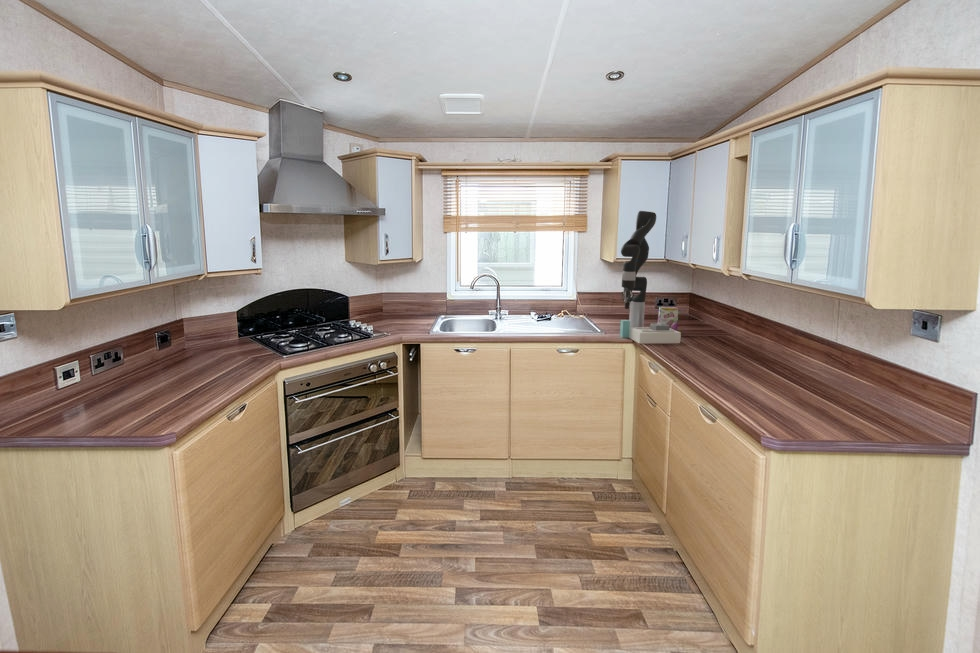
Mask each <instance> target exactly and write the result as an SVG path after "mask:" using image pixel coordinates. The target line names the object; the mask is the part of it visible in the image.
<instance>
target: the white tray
mask: <svg viewBox="0 0 980 653" xmlns="http://www.w3.org/2000/svg"><path fill="white" fill-rule="evenodd" d="M681 337H682V332H680V331H678V330H677V331H675V330H674V329H671V328H670V329H669V330H653V329H650V326H643V327H635V328H630V327H629V338H628V339H631V340H632V341H633V342H635V343H638V344H640V345H641V344H680V343H681Z"/></svg>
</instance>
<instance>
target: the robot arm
mask: <svg viewBox="0 0 980 653" xmlns="http://www.w3.org/2000/svg"><path fill="white" fill-rule="evenodd" d="M656 222H657V213H655V212H654V211H646V210H639V211H638V212H637V215H636V221H635V231H634V232H633V233H632V234H631V236H630V238H629V239H628V240H627V241H626V242H625V243H624V244H623V245H622V246H621V249H620V254H621V255H622V256H623V257H625V258H631V259H630V260H626V261H624V262H623V264H622V268H623V269H622V276H621V277H622V278H621V287H622V288H623V291H621V296H622V300H623V301H624V309H625V310H629V315H628V316H629V318H628V320H629V321H630V327H629V328H635V327H644V324H645V309H646V294H647V286H648V279H647V277H646V276H637V274H638V273H639V271H640V269H641V268H642V266H643V265H644V264H645V263H646V261H648V258H649V251H650V245H649V243H648V242H647V239H646V236H647V235H648V234H649V232H651V230H652V229H653V227H655V224H656ZM633 292H639V293H637V294H636V295H634V294H633Z"/></svg>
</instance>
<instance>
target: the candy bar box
mask: <svg viewBox="0 0 980 653" xmlns="http://www.w3.org/2000/svg"><path fill="white" fill-rule="evenodd" d="M679 311H680V308H679V307H677V306H659V307H658V316H657V322H659V323H664V324H667V325H669V326H670V328H671V329H674V330H675V331H678V323H679Z"/></svg>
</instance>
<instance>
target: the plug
mask: <svg viewBox="0 0 980 653" xmlns="http://www.w3.org/2000/svg"><path fill="white" fill-rule="evenodd" d="M629 328H630V321H629V319H620V328H619V337H620V338H622V339H630V338H629Z"/></svg>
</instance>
